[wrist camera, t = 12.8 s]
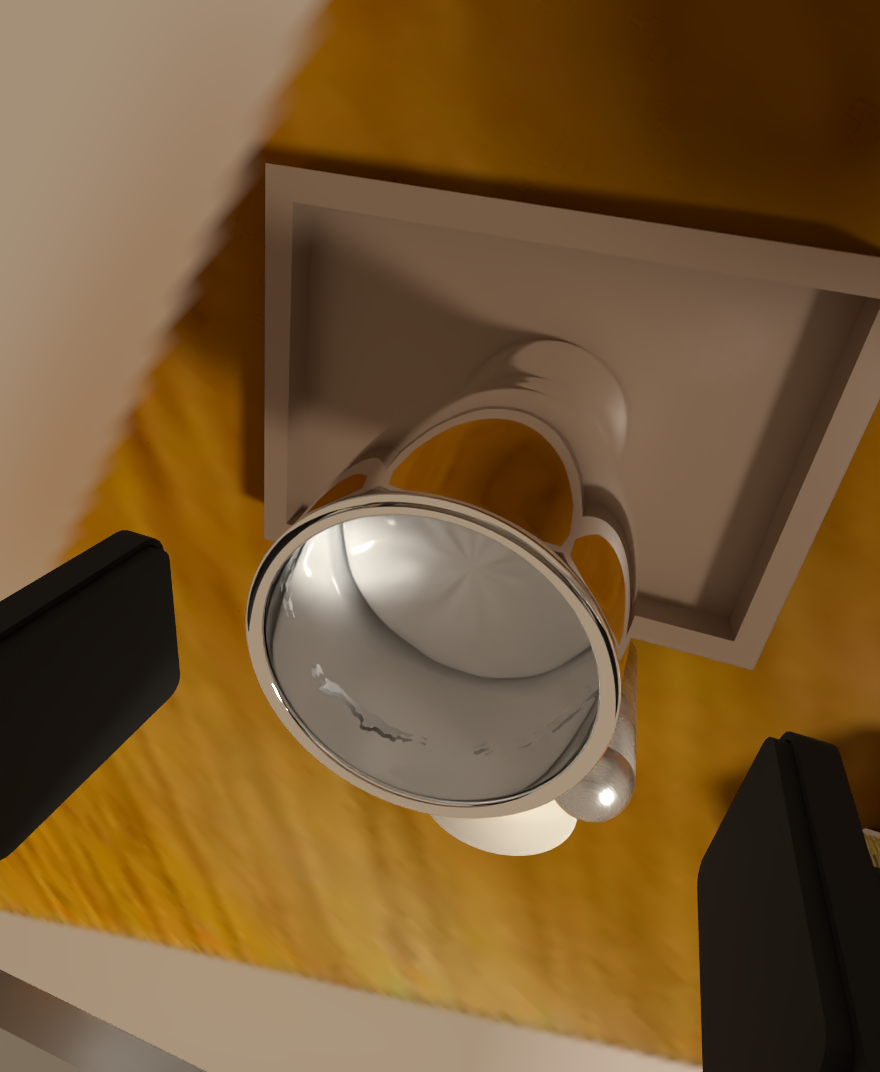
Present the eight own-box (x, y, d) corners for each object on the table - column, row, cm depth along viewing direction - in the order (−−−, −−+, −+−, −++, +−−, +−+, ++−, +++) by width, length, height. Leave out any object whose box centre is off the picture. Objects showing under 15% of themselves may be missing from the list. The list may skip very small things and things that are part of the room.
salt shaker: (645, 638, 28) (645, 792, 20) (626, 691, 29) (620, 853, 22) (575, 619, 28) (551, 763, 21) (560, 672, 30) (532, 824, 22)
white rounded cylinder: (523, 657, 30) (509, 719, 26) (612, 759, 31) (610, 830, 28) (413, 712, 33) (388, 774, 29) (498, 802, 34) (484, 870, 31)
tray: (908, 261, 20) (940, 267, 17) (744, 632, 26) (752, 670, 24) (300, 167, 23) (265, 163, 21) (291, 515, 30) (264, 538, 28)
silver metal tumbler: (572, 281, 21) (461, 388, 9) (679, 453, 23) (723, 766, 10) (414, 396, 25) (161, 601, 12) (517, 540, 26) (391, 863, 13)
